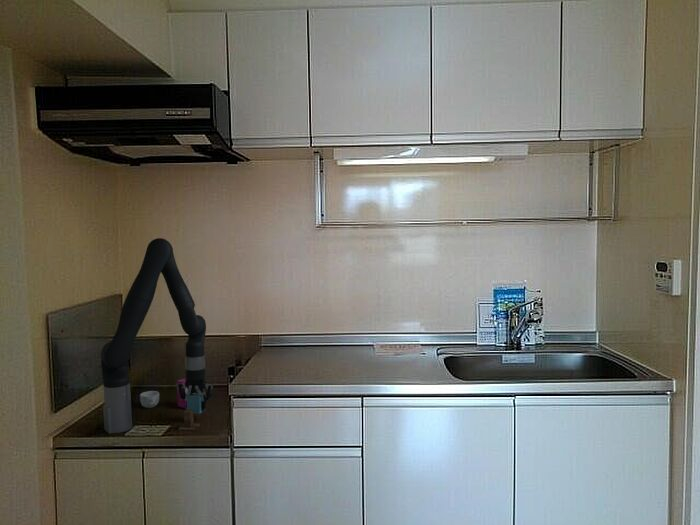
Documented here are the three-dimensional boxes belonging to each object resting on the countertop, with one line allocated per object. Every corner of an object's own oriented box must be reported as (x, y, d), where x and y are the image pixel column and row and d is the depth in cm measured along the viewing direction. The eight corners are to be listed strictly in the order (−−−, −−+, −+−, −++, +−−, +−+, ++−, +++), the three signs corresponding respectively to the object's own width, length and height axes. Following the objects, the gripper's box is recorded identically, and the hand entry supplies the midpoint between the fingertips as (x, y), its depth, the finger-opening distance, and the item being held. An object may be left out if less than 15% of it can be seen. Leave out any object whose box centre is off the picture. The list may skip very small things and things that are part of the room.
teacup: (138, 405, 246) (137, 393, 246) (156, 402, 250) (156, 389, 250) (144, 412, 238) (143, 399, 237) (163, 408, 242) (162, 395, 241)
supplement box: (189, 403, 247) (187, 377, 246) (197, 406, 244) (196, 379, 243) (177, 407, 243) (176, 380, 242) (185, 409, 239) (184, 382, 238)
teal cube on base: (199, 413, 223) (199, 397, 223) (186, 413, 224) (186, 396, 223) (205, 409, 228) (204, 393, 228) (192, 409, 229) (192, 392, 228)
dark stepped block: (193, 430, 216) (192, 413, 215) (178, 430, 216) (177, 413, 216) (199, 424, 221) (199, 408, 221) (184, 424, 222) (184, 407, 222)
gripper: (216, 365, 227) (217, 407, 229) (182, 364, 230) (182, 406, 231) (209, 370, 220) (209, 414, 221) (173, 368, 222) (174, 412, 223)
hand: (196, 409), depth 226 cm, fingers closed on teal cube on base, 5 cm apart
